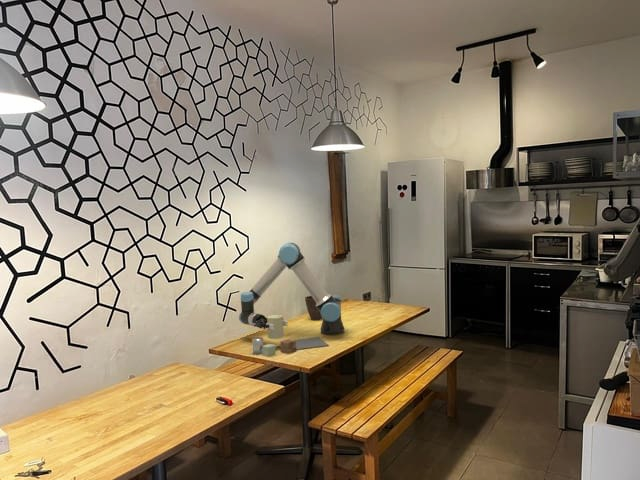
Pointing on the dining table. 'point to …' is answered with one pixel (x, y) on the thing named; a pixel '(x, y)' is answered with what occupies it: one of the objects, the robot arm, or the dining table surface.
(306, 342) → the charcoal mat
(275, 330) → the can
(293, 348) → the walnut block
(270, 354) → the sage block
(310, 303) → the plant pot
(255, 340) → the grey tin
